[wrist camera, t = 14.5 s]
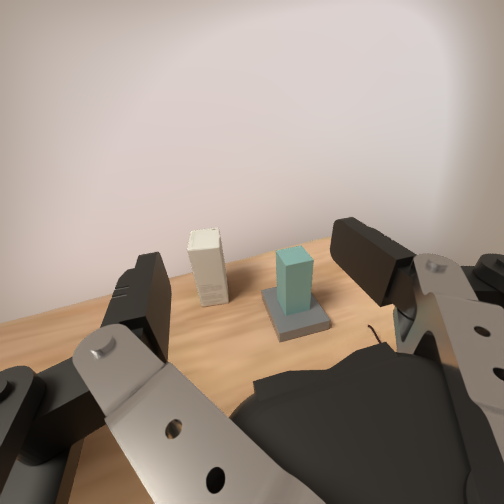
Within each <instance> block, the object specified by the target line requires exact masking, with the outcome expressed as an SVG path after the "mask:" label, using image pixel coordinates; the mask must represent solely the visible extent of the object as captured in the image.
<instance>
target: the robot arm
mask: <svg viewBox="0 0 504 504" xmlns="http://www.w3.org/2000/svg"><path fill="white" fill-rule="evenodd" d="M330 253H331V256H332V259H333V260H334V261H335V262H336V263H337V264H338V265H339V266H340V267H341V268H342V269H343V270H344V271H345V272H346V273H347V274H348V275H349V276H350V277H351V278H352V279H353V280H354V281H355V282H356V283H357V284H358V285H359V286H360V287H361V288H362V289H363V290H364V291H365V292H366V293H367V294H368V295H369V296H370V297H371V298H372V299H373V300H374V301H375V302H376V303H377V304H378V305H379V306H380V307H382V306H386V305H390V304H394V305H395V308H394V310H393V318H394V326H395V335H396V344H397V352H394V350H393V349H392V348H391V347H390V346H389V345H388V344H387V342H383V343H380V344H377V345H373V346H370V347H367V348H363V349H360V350H357V351H355V352H353V353H352V354H350V355H349V356H348V357H346V358H345V359H343V360H342V361H340V362H339V363H337V364H336V365H335V366H333V367H332V368H330V369H327V370H300V371H286V372H283V373H279V374H276V375H273V376H269V377H266V378H263V379H259V380H256V381H253V385H254V394H252V395H251V396H249V397H248V398H247V399H246V400H244V401H243V402H242V403H241V404H240V405H239V406H238V407H237V408H236V409H235V410H234V411H233V413H232V414H231V415H230V417H229V418H228V417H227V416H226V415H225V414H224V413H223V412H222V411H221V410H220V409H219V408H218V407H217V406H216V405H215V404H214V403H213V402H212V401H210V400H209V399H208V398H207V397H206V396H205V395H204V394H203V393H202V392H201V391H200V390H199V389H198V388H197V387H196V386H195V385H194V384H193V383H192V382H191V381H190V380H189V379H187V378H186V377H185V376H184V375H183V374H182V373H181V372H180V371H179V370H178V369H177V368H176V367H175V366H174V365H173V364H171V363H170V362H167V360H168V344H169V328H170V312H171V295H172V293H171V285H170V281H169V278H168V275H167V272H166V269H165V267H164V264H163V261H162V258H161V255H160V253H159V252H154V253H149V254H143V255H139V256H138V259H137V263H136V266H135V268H133V269H129V270H127V271H126V272H125V273H124V274H123V275H122V276H121V277H120V278H119V280H118V282H117V285H116V287H115V289H116V290H114V293H113V295H112V298H111V300H110V303H109V306H108V308H107V311H106V314H105V316H104V319H103V322H102V324H101V327H100V328H99V329H97V330H95V331H94V332H92V333H91V334H89V335H88V336H87V337H86V338H84V339H83V340H82V341H81V342H80V344H79V345H78V346H77V348H76V349H75V351H74V354H73V357H71V358H69V359H67V360H65V361H63V362H61V363H59V364H57V365H55V366H52V367H50V368H48V369H46V370H44V371H42V372H40V373H38V374H36V373H35V372H34V371H33V370H32V369H31V368H30V367H27V366H16V367H12V368H9V369H6V370H3V371H1V372H0V504H68V501H69V497H70V493H71V489H72V485H73V481H74V477H75V473H76V469H77V465H78V461H79V457H80V453H81V449H82V445H83V441H84V437H86V436H87V435H89V434H91V433H92V432H94V431H95V430H97V429H99V428H100V427H102V426H103V425H105V424H107V426H108V427H109V429H110V431H111V432H112V434H113V436H114V437H115V439H116V441H117V442H118V444H119V446H120V447H121V449H122V450H123V452H124V454H125V455H126V457H127V459H128V460H129V462H130V464H131V465H132V467H133V468H134V470H135V472H136V473H137V475H138V477H139V478H140V480H141V482H142V483H143V485H144V487H145V488H146V490H147V491H148V493H149V495H150V496H151V498H152V500H153V501H154V503H155V504H504V255H500V254H484V255H482V256H481V257H480V258H479V260H478V262H477V263H476V265H475V266H459V265H458V264H457V263H456V262H454V261H452V260H450V259H448V258H446V257H443V256H439V255H435V254H419V255H416V254H414V253H413V252H411V251H410V250H408V249H407V248H405V247H403V246H402V245H400V244H399V243H397V242H395V241H394V240H391V239H390V238H389V237H387V236H384V234H382V233H381V232H379V231H378V230H376V229H374V228H371V227H368V226H366V225H365V224H363V223H362V222H360V221H358V220H357V219H355V218H353V217H349V218H344V219H338V220H336V221H335V222H334V225H333V232H332V238H331V245H330ZM164 363H165V364H164Z"/></svg>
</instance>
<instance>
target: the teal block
mask: <svg viewBox="0 0 504 504" xmlns="http://www.w3.org/2000/svg"><path fill="white" fill-rule="evenodd" d="M313 262H314V260H313V259H312V257H311V256H310V255H309V254H308V253H307V252H306V250H305V249H304V248H303V247H302V246H297V247H292V248H287V249H282V250H277V251H276V274H277V299H278V301H279V303H280V305H281V307H282V309H283V311H284V314H285V316H287V315H291V314H295V313H299V312H303V311H307V310H310V299H311V287H312V274H313Z"/></svg>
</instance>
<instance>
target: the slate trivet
mask: <svg viewBox="0 0 504 504" xmlns="http://www.w3.org/2000/svg"><path fill="white" fill-rule="evenodd" d="M261 292H262V300H263V302H264V305H265V307H266V310H267V312H268V315H269V317H270V320H271V322H272V325H273V327H274V330H275V332H276V335H277V337H278V340H279V342H283V341H287V340H290V339H294V338H298V337H301V336H305V335H309V334H313V333H316V332H320V331H324V330H327V329H329V326H330V319H329V317H328V316H327V315H326V313H325V312H324V310H323V309H322V307H321V306H320V304H319V303H318V302H317V300H316V299H315V297H314V296H313V294H312V293H311V299H310V310H307V311H303V312H299V313H295V314H291V315H287V316H285V314H284V311H283V309H282V307H281V305H280V303H279V301H278V299H277V287H274V288H269V289H265V290H261Z"/></svg>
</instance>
